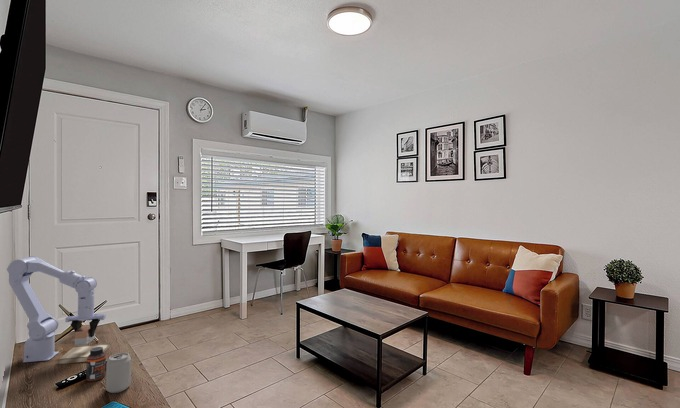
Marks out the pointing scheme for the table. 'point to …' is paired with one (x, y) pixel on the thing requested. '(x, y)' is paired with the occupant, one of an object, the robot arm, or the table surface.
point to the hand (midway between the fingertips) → (85, 336)
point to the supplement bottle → (96, 364)
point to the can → (118, 372)
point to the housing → (83, 336)
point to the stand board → (80, 353)
